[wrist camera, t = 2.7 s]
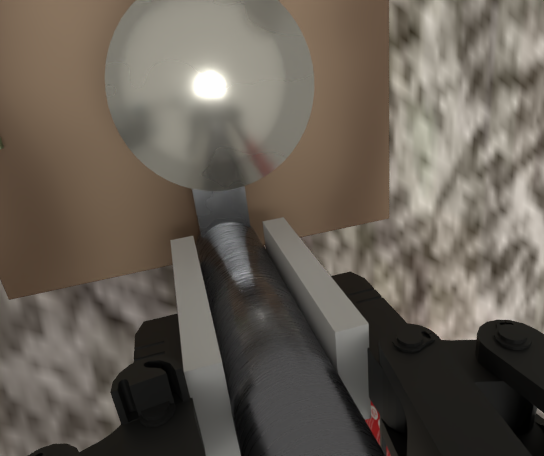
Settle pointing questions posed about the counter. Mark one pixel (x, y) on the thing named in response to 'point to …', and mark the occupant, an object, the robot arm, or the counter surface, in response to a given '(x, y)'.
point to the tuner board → (144, 182)
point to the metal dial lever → (235, 199)
